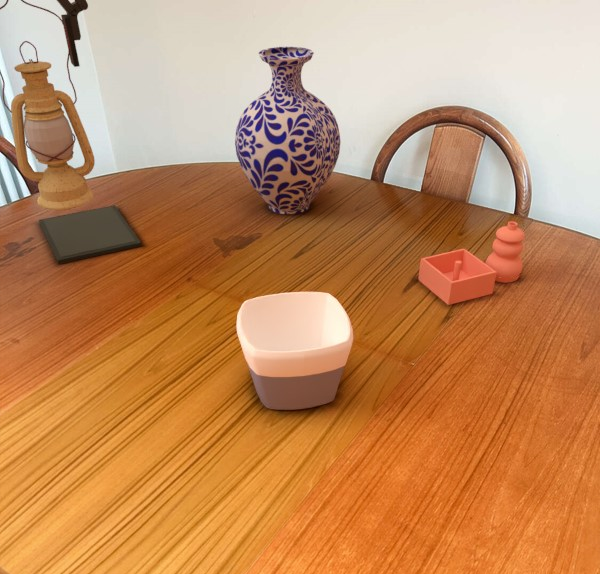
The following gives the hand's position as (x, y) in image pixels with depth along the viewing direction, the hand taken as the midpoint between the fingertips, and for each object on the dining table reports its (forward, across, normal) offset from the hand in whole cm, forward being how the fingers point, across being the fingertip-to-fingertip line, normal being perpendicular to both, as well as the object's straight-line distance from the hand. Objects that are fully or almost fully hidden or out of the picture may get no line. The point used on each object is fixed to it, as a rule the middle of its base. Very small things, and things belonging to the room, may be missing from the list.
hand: (35, 69), depth 98 cm
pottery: (+34, +62, -35) cm, 79 cm away
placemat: (+34, +4, +16) cm, 38 cm away
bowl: (+34, +20, -47) cm, 62 cm away
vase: (+34, +46, +10) cm, 58 cm away
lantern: (+20, 0, 0) cm, 20 cm away
